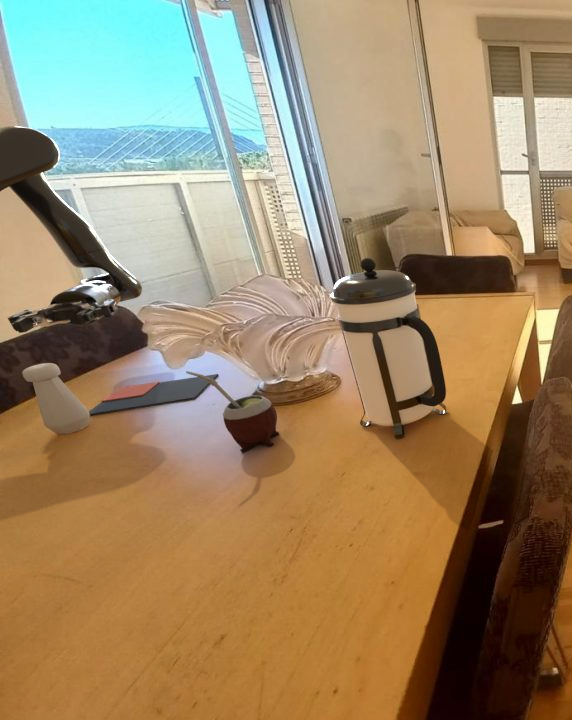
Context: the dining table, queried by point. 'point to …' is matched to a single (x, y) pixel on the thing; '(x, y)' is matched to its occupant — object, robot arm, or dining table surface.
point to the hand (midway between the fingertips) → (50, 323)
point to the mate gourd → (248, 419)
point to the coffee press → (389, 347)
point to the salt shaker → (56, 400)
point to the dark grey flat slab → (152, 394)
